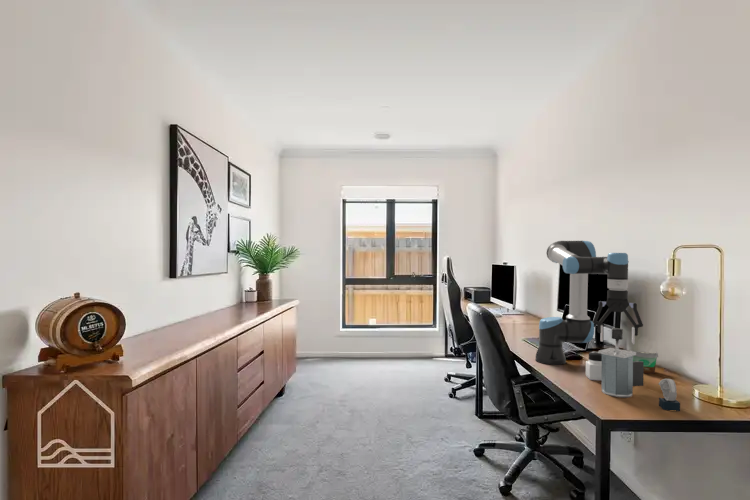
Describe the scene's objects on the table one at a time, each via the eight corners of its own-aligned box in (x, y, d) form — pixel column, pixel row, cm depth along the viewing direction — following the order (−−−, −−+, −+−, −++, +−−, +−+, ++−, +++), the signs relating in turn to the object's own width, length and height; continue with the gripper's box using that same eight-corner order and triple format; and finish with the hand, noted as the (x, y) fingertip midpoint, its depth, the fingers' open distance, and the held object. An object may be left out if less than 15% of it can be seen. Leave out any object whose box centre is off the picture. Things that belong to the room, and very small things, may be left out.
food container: (632, 373, 213) (632, 352, 213) (629, 369, 219) (629, 349, 219) (661, 375, 209) (662, 354, 209) (657, 371, 215) (657, 351, 215)
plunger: (611, 380, 188) (611, 326, 188) (632, 385, 181) (633, 329, 181) (601, 383, 183) (601, 328, 183) (622, 389, 176) (623, 331, 176)
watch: (673, 405, 168) (673, 377, 168) (682, 413, 160) (682, 383, 160) (656, 404, 170) (657, 375, 170) (664, 411, 162) (664, 381, 162)
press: (614, 385, 193) (615, 346, 193) (644, 392, 183) (644, 351, 183) (596, 392, 184) (596, 350, 183) (626, 400, 174) (626, 356, 174)
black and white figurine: (606, 381, 199) (606, 354, 199) (589, 380, 201) (589, 353, 201) (601, 376, 206) (601, 351, 206) (585, 375, 208) (585, 350, 208)
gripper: (586, 289, 184) (586, 341, 184) (651, 291, 174) (651, 346, 174) (586, 287, 190) (585, 338, 190) (648, 290, 181) (648, 343, 181)
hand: (617, 342), depth 182 cm, fingers open, 11 cm apart
